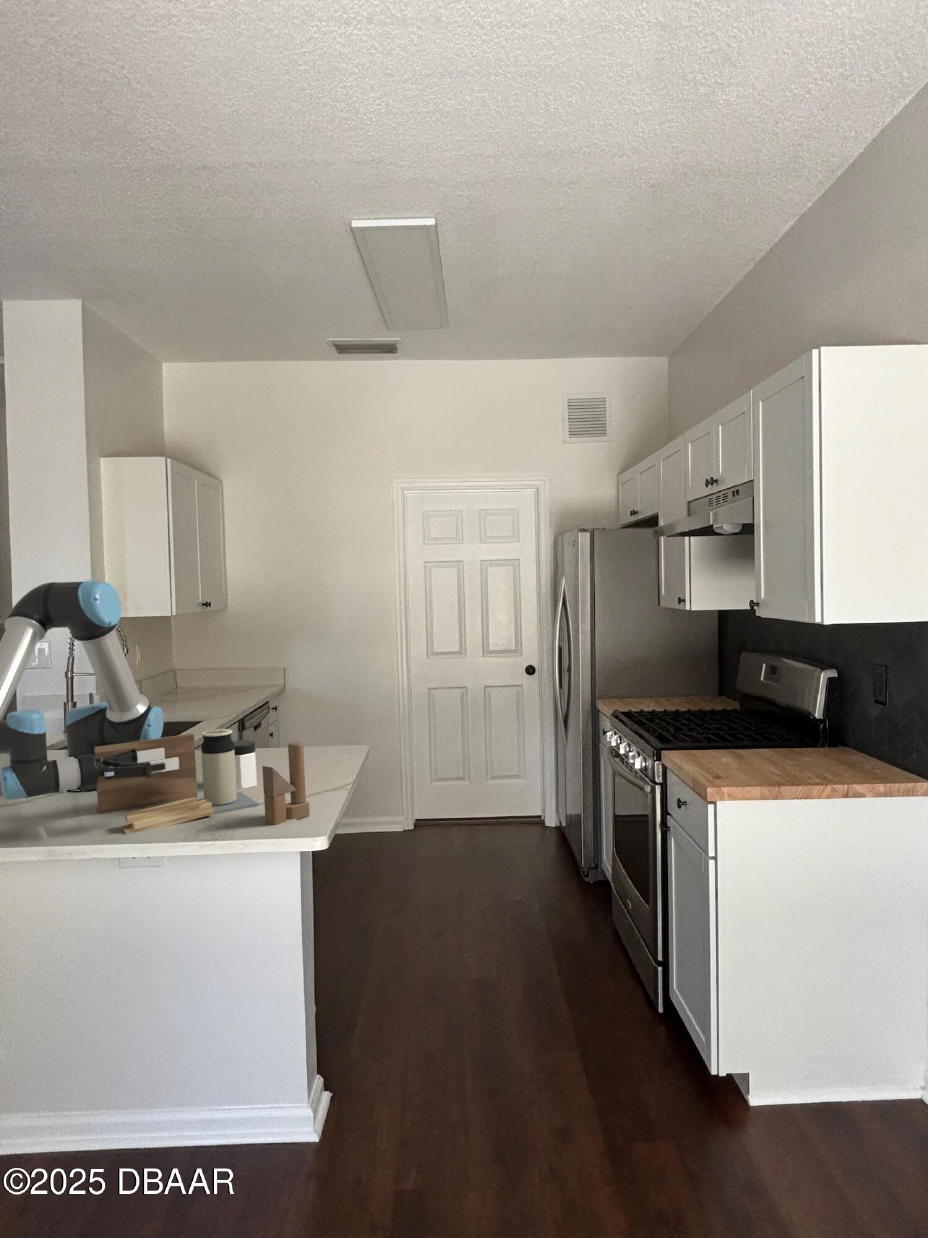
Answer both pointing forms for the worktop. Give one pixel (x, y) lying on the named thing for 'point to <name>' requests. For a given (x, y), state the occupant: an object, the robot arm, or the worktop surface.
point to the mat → (235, 804)
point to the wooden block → (286, 789)
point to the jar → (245, 764)
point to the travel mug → (218, 767)
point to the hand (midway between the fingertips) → (171, 758)
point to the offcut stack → (166, 815)
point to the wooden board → (154, 788)
